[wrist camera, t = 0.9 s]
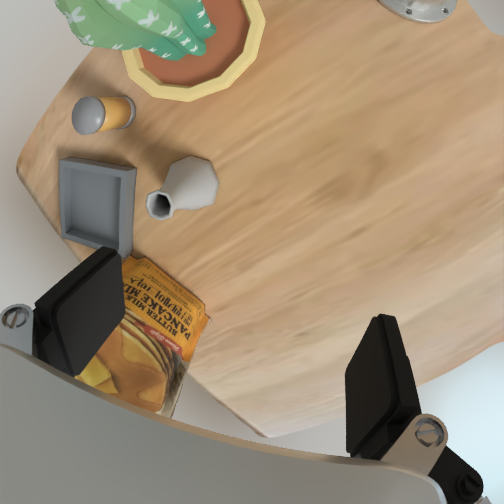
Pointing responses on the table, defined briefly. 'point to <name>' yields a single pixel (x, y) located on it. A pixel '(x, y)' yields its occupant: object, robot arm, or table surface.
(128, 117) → the fuse
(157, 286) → the pancake mix bag
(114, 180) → the tray
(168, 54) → the potted cactus
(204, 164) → the flask
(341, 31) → the table surface
